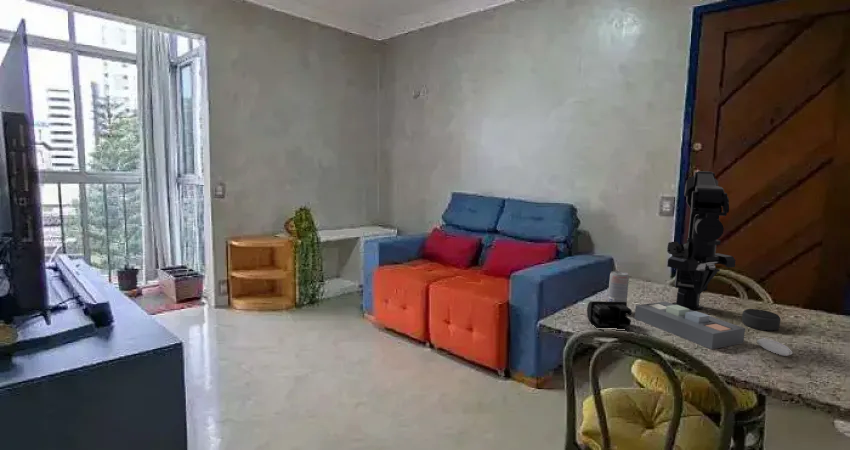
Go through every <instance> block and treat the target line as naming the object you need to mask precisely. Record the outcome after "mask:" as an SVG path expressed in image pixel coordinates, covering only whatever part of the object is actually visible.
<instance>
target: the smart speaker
mask: <svg viewBox="0 0 850 450" xmlns="http://www.w3.org/2000/svg"><path fill="white" fill-rule="evenodd" d="M741 322H742V323H743V324H744V325H745V326H747V327H750V328H752V329H755V330H761V331H766V330H767V332H769V331H772V332H773V330H774V331H778V330H779V328H780V326H781V317H780V315H778V314H777V313H774V312H771V311H768V310H765V309H755V308H749V309H744V310H743V311H742V316H741Z"/></svg>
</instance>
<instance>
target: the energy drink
mask: <svg viewBox="0 0 850 450" xmlns="http://www.w3.org/2000/svg"><path fill="white" fill-rule="evenodd" d="M629 278H630V276H629V273H628V272H625V271H620V270H613V271H610V274H609V283H608V295H607V302H627V303H628V292H629Z"/></svg>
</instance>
